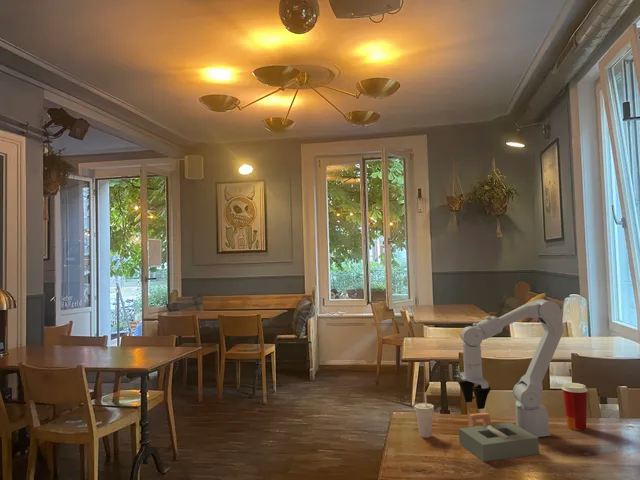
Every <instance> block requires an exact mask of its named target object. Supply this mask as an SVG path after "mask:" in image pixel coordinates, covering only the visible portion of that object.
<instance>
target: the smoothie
mask: <svg viewBox="0 0 640 480" xmlns="http://www.w3.org/2000/svg"><path fill="white" fill-rule="evenodd" d="M414 410H415V415H416V421H417V427H418V434H419V437H421V438H427V439H428V438H430V437H432V428H433V427H432V426H433V417H434V416H433V415H434V410H435V406H434V405H433V404H432V403H427V392H424V402H420V403H416V404H415V405H414Z"/></svg>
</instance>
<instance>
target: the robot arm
mask: <svg viewBox="0 0 640 480" xmlns="http://www.w3.org/2000/svg"><path fill="white" fill-rule="evenodd" d="M526 318H530V319H531V318H532V319H537V320H538V321H539V322H540V324H541V326H542V328H543V334H542V335H541V336H540V337H541V338H540V340H539V342H538V344H537V347H536V349H535V352H534V355H533V356H532V358H531V361H530V363H529V365H528V368H527V370H526V373H524V375H523V376H521V377H520V379H519V381H518V382H517V383H515V385H514V386H513V388H512V393H513V397H514V398H515V399H516V401H515V403H514V404H515V408H514V409H515V423H516V424H515V425H516V426H518V427H520V428H522V429H524V430H525V431H527V432H529V433H531V434H533V435H535V436H536V437H538V438H541V437H550V436H552V434H551V433H550V429H549V428H550V426H549V413H548V410H547V408H546V406H544V405H543V404H541V403H542V392H543V388H544V387H543V380H544V378H545V375H546V373H547V371H548V369H549V366H550V364H551V362H552V360H553V357H554V355H555V352H556V350H557V348H558V346H559V343H560V340H561V338H562V337H563V334H564V326H563V325H564V324H563V311H562V310H561V308H560V306H559V305H558V303H556V302H555V301H553V300H552V301H551V300H546V299H543V298H537V299H534V300H533V301H528V302H526V303H524V304H523V305H520V306H519V307H517V308H515V309H513V310H510V311H509V312H507V313H505V314H503V315H501V316H499V317H498V316H495V315H492V316H490V315H487V316H486V317H485V319H483V320H481V321H480V322H474V323H472V325H471V326H470V325H469V326H465V327H463V329H462V330H461V333H460V339H461V340H462V341H463V342H462V348H463V349H462V354H463V355H462V356H463V357H462V358H463V371H461V372H459V379H460V380H458V381H457V384H458V385H459V387H460V388H461V391H462V394H463V397H464V402H465V403H473V397H474V396H475V402H476V407H477V409H478V410H484V409H485V408H486V407H485V406H486V402H487V398H488V396H489V393H490V391H491V386H489V381H487V380H486V379H485V378H484V376H483V363H482V359H483V358H482V349H481V344H482V342H483V341H485V340H487V339H489V338H492V337H494V336H496V335H498V334H500V333H502V332H503V329H504V328H505V327H507V326H508V325H511V324H514V323H516V322H518V321H521V320H523V319H526ZM475 385H476V386H475ZM473 394H474V395H473Z"/></svg>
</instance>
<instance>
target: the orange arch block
mask: <svg viewBox="0 0 640 480" xmlns="http://www.w3.org/2000/svg"><path fill="white" fill-rule="evenodd" d="M477 420H482V426H484V425H492V424H491V417H490V413H488V412H486V411H485V412H477V413H476V412H475V413H468V417H467V423H468V424H467V426H468V427H476V426H477Z"/></svg>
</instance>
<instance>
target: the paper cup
mask: <svg viewBox="0 0 640 480" xmlns="http://www.w3.org/2000/svg"><path fill="white" fill-rule="evenodd" d="M561 390H562V392H563V402H564V411H565V419H566V426H567V428H568V429H569V428H570V430H572V429H573V430H572V431H577V430H579V431H580V430H582V431H585V429H586V430H587V405H588V401H587V400H588V397H587V396H588V393H587V392H588V388H587V386H586V385H585V384H582V383H577V382H566V383H563V385H562V387H561ZM580 432H581V431H580Z"/></svg>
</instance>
